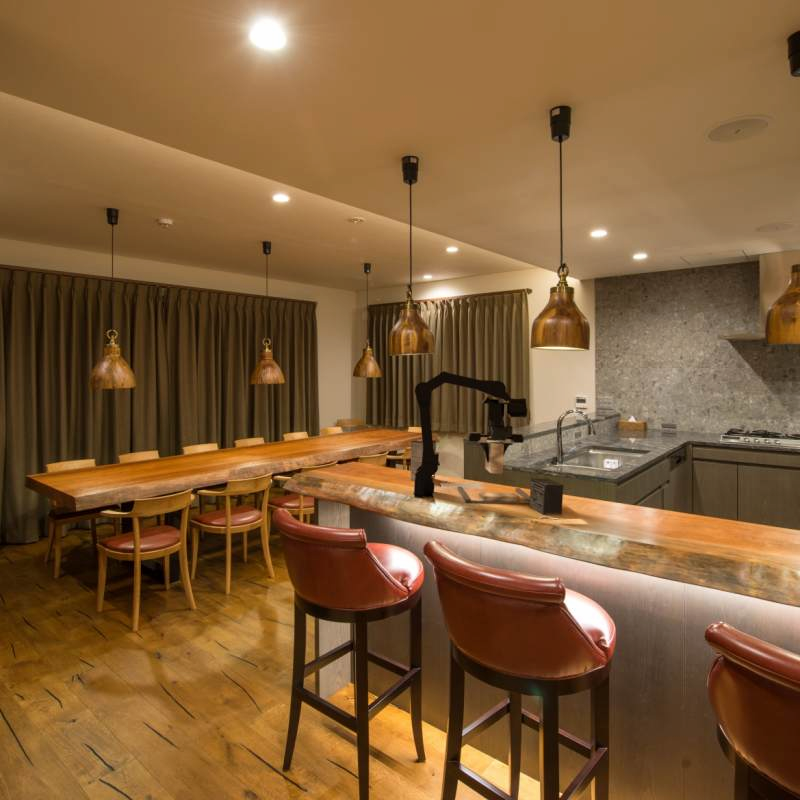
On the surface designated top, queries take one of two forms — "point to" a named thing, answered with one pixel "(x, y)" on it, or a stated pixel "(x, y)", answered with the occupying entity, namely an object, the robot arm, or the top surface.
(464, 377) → the robot arm
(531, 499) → the small box
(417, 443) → the coffee box
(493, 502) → the rack
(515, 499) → the upper offcut
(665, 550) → the top surface
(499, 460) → the tan brown block
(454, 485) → the mat
